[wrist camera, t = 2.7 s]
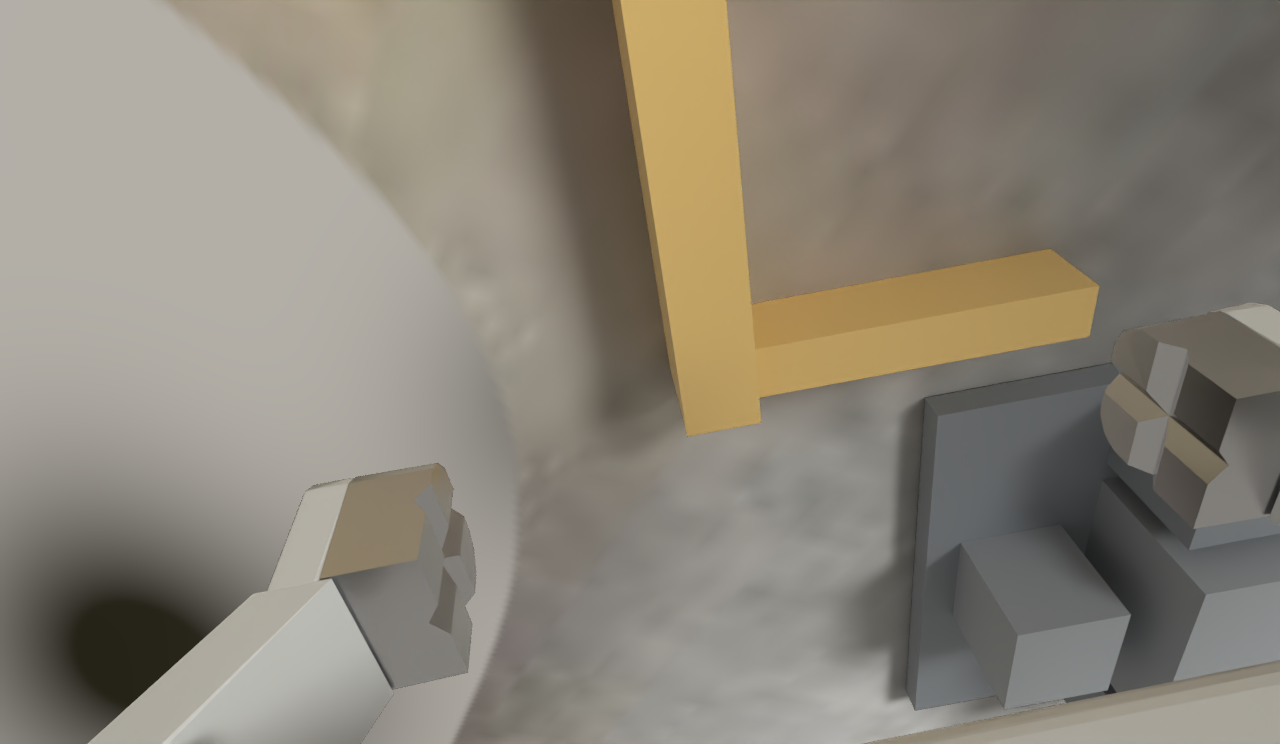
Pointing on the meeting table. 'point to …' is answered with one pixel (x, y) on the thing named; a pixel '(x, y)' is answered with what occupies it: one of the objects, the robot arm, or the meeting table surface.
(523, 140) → the meeting table surface
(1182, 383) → the robot arm
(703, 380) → the yellow c-shaped bracket
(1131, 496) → the grey block fixture base
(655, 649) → the meeting table surface
